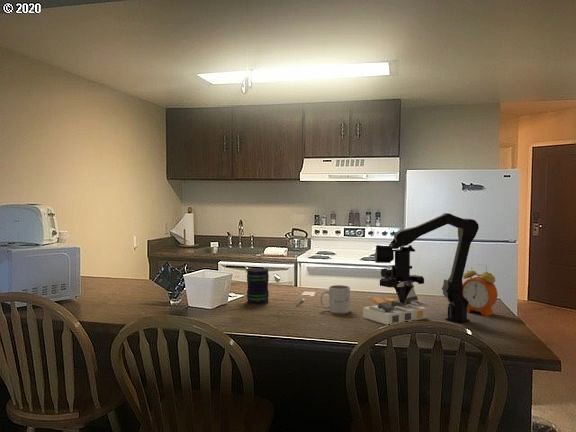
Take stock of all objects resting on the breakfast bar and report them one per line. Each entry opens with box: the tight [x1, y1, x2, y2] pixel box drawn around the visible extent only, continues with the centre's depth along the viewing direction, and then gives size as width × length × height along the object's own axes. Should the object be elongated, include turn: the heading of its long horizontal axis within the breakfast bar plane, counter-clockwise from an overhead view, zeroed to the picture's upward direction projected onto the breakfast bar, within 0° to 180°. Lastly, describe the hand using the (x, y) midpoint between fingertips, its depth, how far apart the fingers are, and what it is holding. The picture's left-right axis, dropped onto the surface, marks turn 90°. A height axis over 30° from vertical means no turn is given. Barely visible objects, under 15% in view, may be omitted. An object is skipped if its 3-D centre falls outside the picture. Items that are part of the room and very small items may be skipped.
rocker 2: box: [382, 297, 406, 307], centre depth 186 cm, size 9×4×2 cm, turn 32°
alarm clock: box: [462, 263, 499, 317], centre depth 195 cm, size 13×6×20 cm, turn 40°
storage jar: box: [246, 267, 270, 306], centre depth 214 cm, size 10×10×15 cm
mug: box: [319, 284, 351, 314], centre depth 199 cm, size 12×9×10 cm
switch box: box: [362, 302, 427, 326], centre depth 186 cm, size 14×20×5 cm
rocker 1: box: [370, 296, 394, 312], centre depth 183 cm, size 9×4×2 cm, turn 32°
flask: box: [407, 282, 419, 304], centre depth 216 cm, size 7×7×10 cm
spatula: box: [295, 291, 316, 308], centre depth 220 cm, size 6×29×2 cm, turn 166°
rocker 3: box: [405, 295, 419, 305], centre depth 190 cm, size 9×4×2 cm, turn 32°
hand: (402, 303), depth 183 cm, fingers closed, pressing on rocker 2
